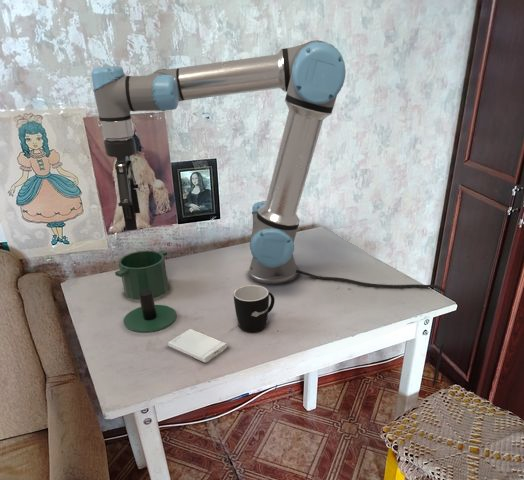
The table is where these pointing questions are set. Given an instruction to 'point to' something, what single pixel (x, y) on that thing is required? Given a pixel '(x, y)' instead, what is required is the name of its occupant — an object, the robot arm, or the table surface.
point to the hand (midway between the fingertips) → (133, 221)
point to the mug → (252, 307)
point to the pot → (143, 273)
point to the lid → (149, 315)
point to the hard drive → (198, 345)
